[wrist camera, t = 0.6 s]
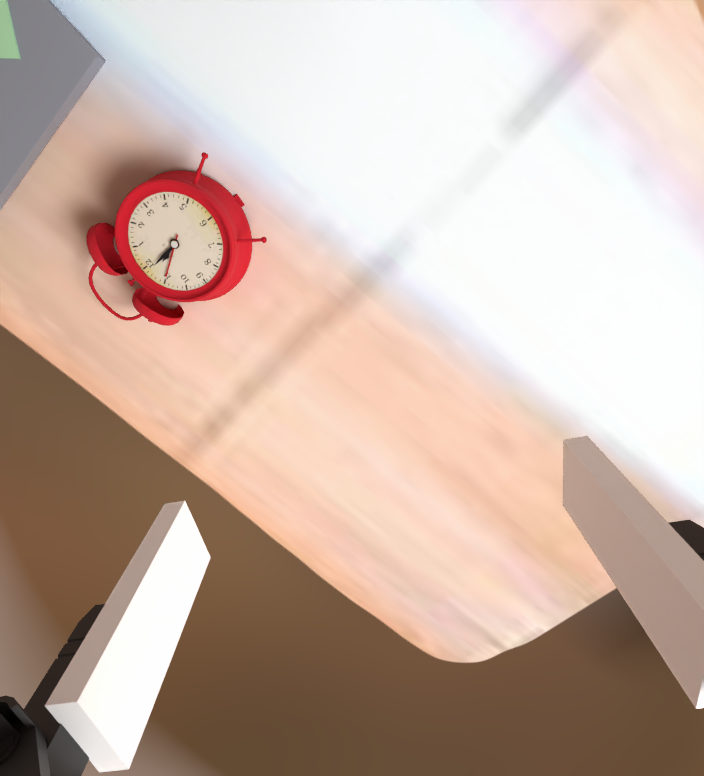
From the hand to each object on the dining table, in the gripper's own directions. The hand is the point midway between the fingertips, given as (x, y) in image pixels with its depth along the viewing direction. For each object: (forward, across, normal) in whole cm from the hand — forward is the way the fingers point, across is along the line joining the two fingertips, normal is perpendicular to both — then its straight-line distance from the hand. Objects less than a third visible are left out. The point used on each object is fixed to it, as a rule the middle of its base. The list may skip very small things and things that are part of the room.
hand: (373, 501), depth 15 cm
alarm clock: (+27, -15, +8) cm, 32 cm away
